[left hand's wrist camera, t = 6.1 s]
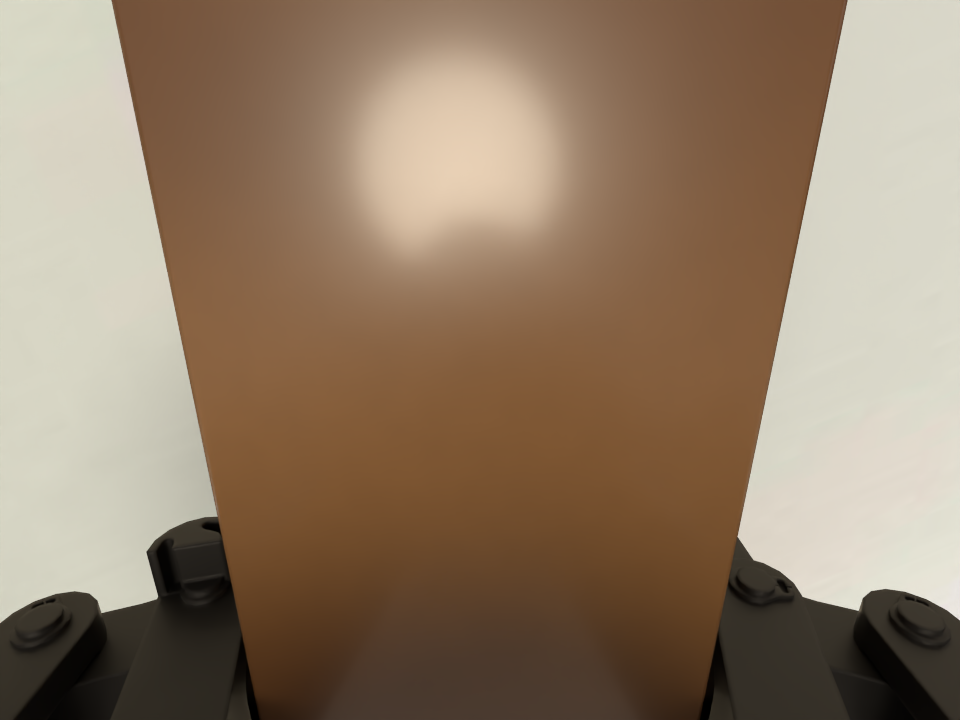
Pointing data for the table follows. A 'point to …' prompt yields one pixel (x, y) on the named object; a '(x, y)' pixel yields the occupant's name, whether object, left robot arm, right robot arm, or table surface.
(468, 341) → the bar
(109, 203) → the table surface
